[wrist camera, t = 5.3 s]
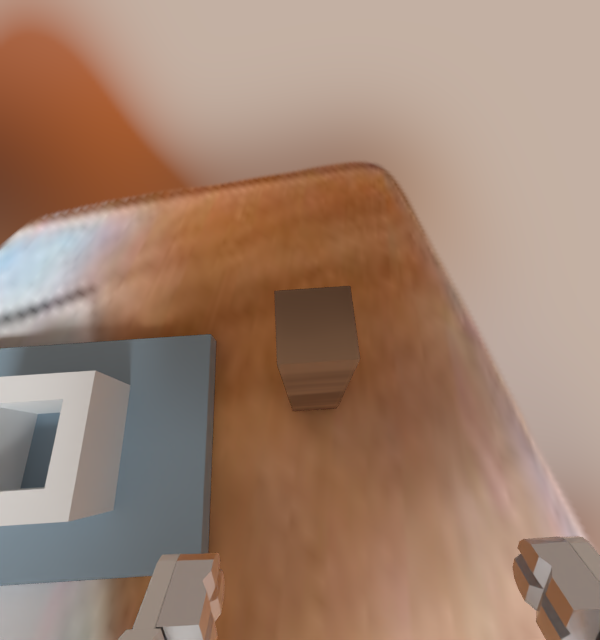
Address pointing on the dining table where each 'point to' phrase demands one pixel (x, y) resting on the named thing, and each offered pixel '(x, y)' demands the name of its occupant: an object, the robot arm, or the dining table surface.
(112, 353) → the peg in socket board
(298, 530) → the dining table surface
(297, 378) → the brown wooden peg
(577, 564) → the robot arm
